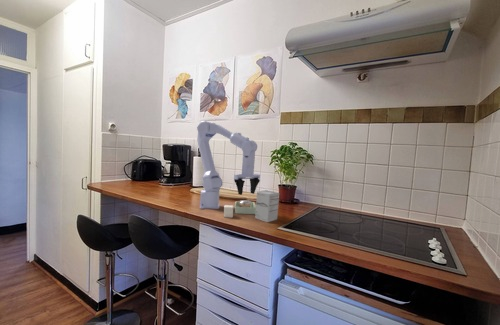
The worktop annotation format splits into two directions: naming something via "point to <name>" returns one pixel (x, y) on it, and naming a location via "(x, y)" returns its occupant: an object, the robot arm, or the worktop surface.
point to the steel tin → (245, 203)
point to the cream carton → (228, 211)
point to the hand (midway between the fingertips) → (246, 193)
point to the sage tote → (245, 208)
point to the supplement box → (267, 205)
